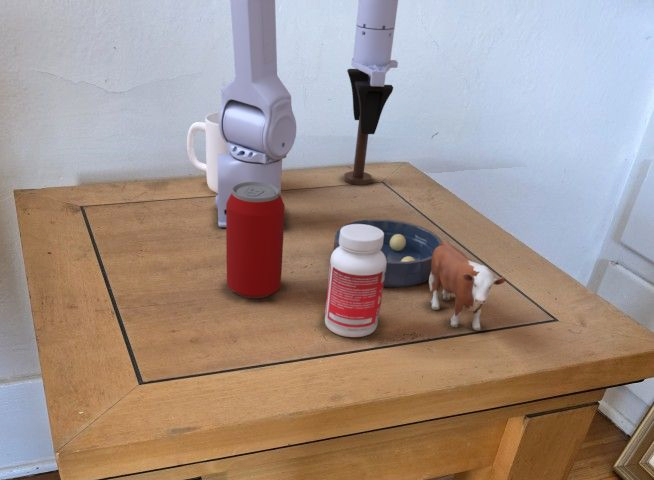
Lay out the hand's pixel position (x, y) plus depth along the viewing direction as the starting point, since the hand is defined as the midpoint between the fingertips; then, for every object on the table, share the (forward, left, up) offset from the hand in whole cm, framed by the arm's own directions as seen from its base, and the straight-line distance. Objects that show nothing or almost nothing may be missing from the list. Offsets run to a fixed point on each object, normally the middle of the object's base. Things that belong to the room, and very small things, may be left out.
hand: (364, 126), depth 113 cm
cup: (-23, -4, -8) cm, 25 cm away
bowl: (-1, -34, -8) cm, 35 cm away
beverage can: (-19, -41, -8) cm, 46 cm away
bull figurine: (+5, -48, -8) cm, 49 cm away
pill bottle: (-8, -50, -8) cm, 51 cm away
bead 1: (+1, -30, -7) cm, 31 cm away
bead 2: (+1, -37, -7) cm, 38 cm away
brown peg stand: (0, 0, -8) cm, 8 cm away
